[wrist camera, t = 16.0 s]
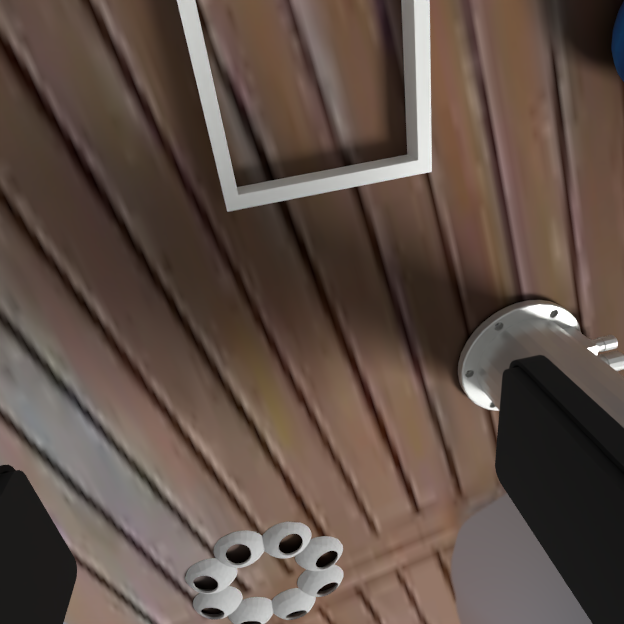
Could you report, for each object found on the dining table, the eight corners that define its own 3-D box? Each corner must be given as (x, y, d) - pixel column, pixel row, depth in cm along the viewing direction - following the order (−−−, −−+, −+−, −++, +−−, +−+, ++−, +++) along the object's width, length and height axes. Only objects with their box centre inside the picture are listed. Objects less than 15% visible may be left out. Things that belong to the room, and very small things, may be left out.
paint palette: (210, 510, 51) (210, 526, 49) (370, 526, 57) (376, 541, 55) (166, 619, 58) (165, 637, 56) (312, 622, 65) (315, 638, 63)
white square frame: (413, -84, 29) (428, -94, 27) (420, 165, 36) (431, 171, 34) (166, -49, 27) (163, -57, 25) (226, 203, 35) (227, 211, 33)
